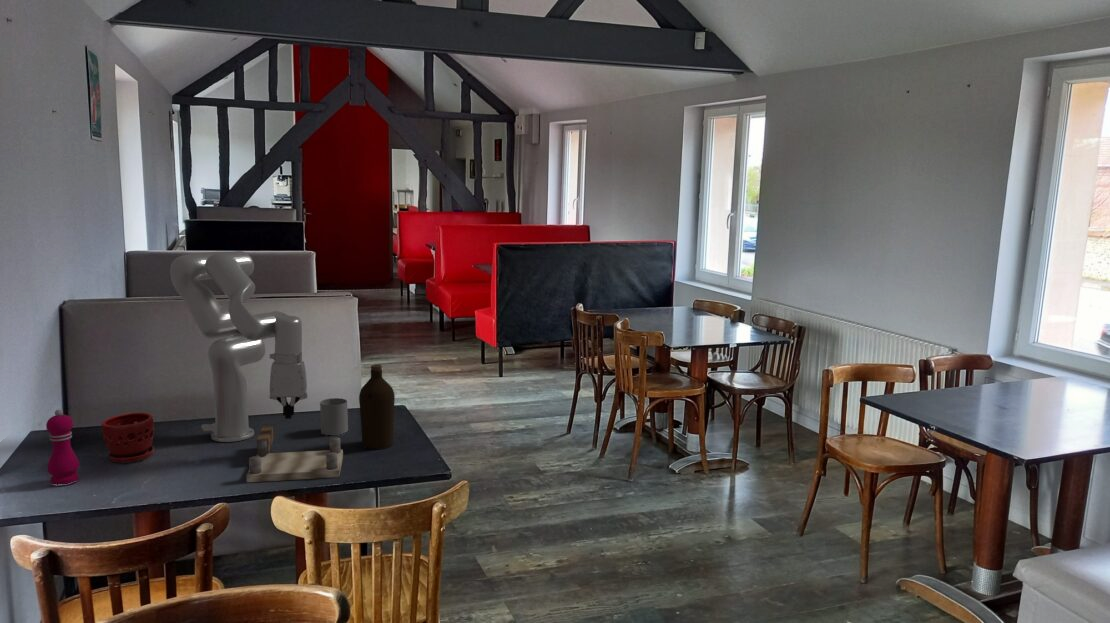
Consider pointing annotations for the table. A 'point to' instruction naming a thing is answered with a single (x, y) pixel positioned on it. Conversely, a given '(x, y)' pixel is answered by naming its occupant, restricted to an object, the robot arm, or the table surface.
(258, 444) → the folding leg
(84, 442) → the table surface
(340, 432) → the cup
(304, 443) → the table surface
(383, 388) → the olive oil
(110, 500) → the table surface
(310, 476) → the stool seat
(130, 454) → the plant pot
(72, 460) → the pepper mill
